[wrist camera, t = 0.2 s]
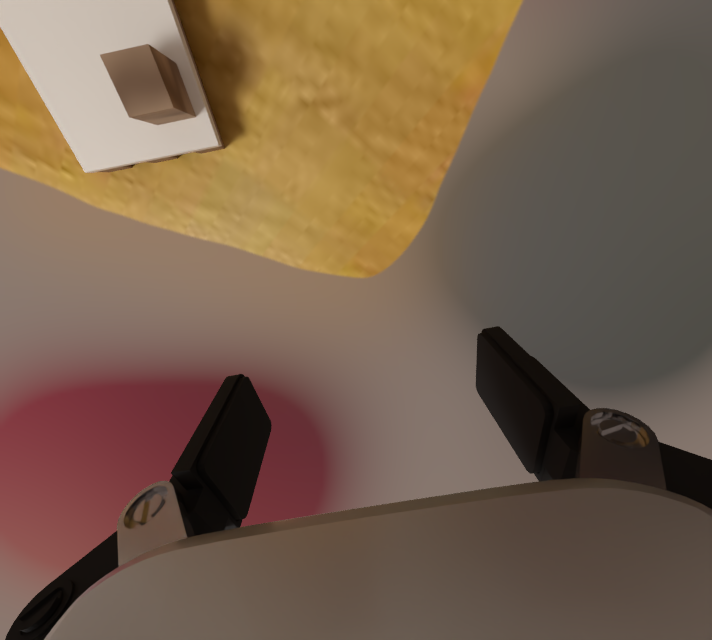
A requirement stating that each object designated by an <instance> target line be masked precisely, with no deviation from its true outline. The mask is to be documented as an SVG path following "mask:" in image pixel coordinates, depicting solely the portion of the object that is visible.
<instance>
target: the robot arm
mask: <svg viewBox="0 0 712 640" xmlns="http://www.w3.org/2000/svg"><path fill="white" fill-rule="evenodd" d="M476 367H477V368H476V388H477V391H478V394H479V395H480V397H481V399H482V400H483V402H484V403H485V405H486V406H487V408H488V410H489V411H490V413H491V414H492V416H493V417H494V419H495V421H496V422H497V424H498V425H499V427H500V428H501V430H502V432H503V433H504V435H505V437H506V438H507V440H508V441H509V443H510V445H511V446H512V448H513V449H514V451H515V452H516V454H517V456H518V457H519V459H520V460H521V462H522V464H523V465H524V467H525V468H526V470H527V471H528V472H529V473H534V474H535V476H536V477H537V479H538V480H539V482H532V483H524V484H517V485H510V486H502V487H494V488H488V489H481V490H474V491H468V492H461V493H454V494H448V495H442V496H435V497H428V498H421V499H414V500H408V501H402V502H395V503H389V504H382V505H376V506H370V507H364V508H357V509H350V510H345V511H338V512H331V513H325V514H319V515H312V516H306V517H300V518H294V519H288V520H281V521H276V522H269V523H263V524H257V525H251V526H245V527H240V526H241V522H242V519H244V518H246V516H247V514H248V511H249V507H250V503H251V500H252V496H253V493H254V489H255V485H256V482H257V478H258V475H259V471H260V467H261V464H262V460H263V457H264V453H265V450H266V446H267V443H268V439H269V436H270V432H271V421H270V419H269V417H268V415H267V413H266V411H265V409H264V407H263V405H262V403H261V401H260V399H259V397H258V395H257V393H256V391H255V389H254V387H253V385H252V383H251V381H250V379H249V378H248V377H245V376H244V375H243V374H239V375H234V376H228V377H226V379H225V380H224V382H223V384H222V385H221V387H220V389H219V391H218V392H217V394H216V396H215V398H214V399H213V401H212V403H211V405H210V406H209V408H208V410H207V411H206V413H205V415H204V417H203V418H202V420H201V422H200V424H199V425H198V427H197V429H196V431H195V432H194V434H193V436H192V437H191V439H190V441H189V443H188V444H187V446H186V448H185V450H184V451H183V453H182V455H181V456H180V458H179V460H178V462H177V463H176V465H175V467H174V469H173V470H172V472H171V474H172V475H173V476H172V477H171V479H170V481H169V482H168V481H160V482H157V483H154V484H152V485H150V486H148V487H147V488H145V489H143V490H142V491H141V492H140V493H138V494H137V495H136V496H135V497H134V498H133V499H132V500H131V501H130V502H129V503H128V504H127V506H126V507H125V509H124V510H123V511H122V513H121V515H120V518H119V520H118V524H117V531H116V532H115V533H114V534H112V535H111V536H110V537H108V538H107V539H106V540H105V541H103V542H102V543H101V544H100V545H98V546H97V547H96V548H94V549H93V550H92V551H91V552H89V553H88V554H87V555H86V556H85V557H83V558H82V559H81V560H79V561H78V562H77V563H75V564H74V565H73V566H72V567H70V568H69V569H68V570H66V571H65V572H64V573H63V574H62V575H60V576H59V577H58V578H57V579H55V580H54V581H53V582H51V583H50V584H49V585H48V586H46V587H45V588H44V589H43V590H42V591H41V592H39V593H38V594H37V595H36V596H35V597H34V598H33V599H32V600H31V601H30V603H28V605H27V606H26V607H25V608H24V609H23V610H22V612H21V613H20V614H19V616H18V617H17V619H16V620H15V621H14V623H13V625H12V626H11V628H10V630H9V632H8V634H7V636H6V639H5V640H712V460H710V459H707V458H704V457H701V456H698V455H695V454H692V453H689V452H687V451H684V450H681V449H678V448H675V447H672V446H669V445H666V444H663V443H660V442H658V439H657V437H656V435H655V433H654V432H653V431H652V430H651V429H650V427H649V426H647V425H646V424H645V423H643V422H642V421H641V420H639V419H637V418H635V417H634V416H632V415H630V414H627V413H624V412H621V411H618V410H614V409H609V408H596V409H592V410H590V409H589V408H588V407H586V406H585V405H584V404H583V403H582V402H581V401H580V400H579V399H578V398H577V397H576V396H575V395H574V394H573V393H572V392H570V391H569V390H568V389H567V388H566V387H565V386H564V385H563V384H562V383H561V382H560V381H559V380H558V379H557V378H556V377H554V376H553V375H552V374H551V373H550V372H549V371H548V370H547V369H546V368H545V367H544V366H543V365H542V364H541V363H540V362H539V361H537V360H536V359H535V358H534V357H532V356H530V355H529V354H528V353H527V352H526V351H525V350H523V348H522V347H520V346H519V345H518V344H517V343H516V342H515V341H514V340H513V339H512V338H511V337H510V336H509V335H508V334H507V333H506V332H505V331H504V330H503V329H501V328H500V327H492V328H486V329H483V330H482V333H480V334H478V338H477V366H476Z"/></svg>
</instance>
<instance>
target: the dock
mask: <svg viewBox="0 0 712 640" xmlns="http://www.w3.org/2000/svg"><path fill="white" fill-rule="evenodd" d="M0 27H1V29H2V30H3V32H4V34H5V36H6V37H7V39H8V41H9V43H10V44H11V46H12V48H13V49H14V51H15V53H16V55H17V56H18V58H19V60H20V61H21V63H22V65H23V67H24V68H25V70H26V72H27V73H28V75H29V77H30V79H31V80H32V82H33V84H34V86H35V87H36V89H37V91H38V92H39V94H40V96H41V98H42V99H43V101H44V103H45V104H46V106H47V108H48V110H49V111H50V113H51V115H52V116H53V118H54V120H55V122H56V123H57V125H58V127H59V129H60V130H61V132H62V134H63V135H64V137H65V139H66V141H67V142H68V144H69V146H70V147H71V149H72V151H73V153H74V154H75V156H76V158H77V159H78V161H79V163H80V165H81V166H82V168H83V170H84V172H85V173H93V172H113V171H117V170H122V169H127V168H132V166H131V165H132V164H137V163H142V162H151V163H157V162H161V161H166V160H171V159H176V158H178V157H177V155H181V154H186V153H191V152H196V153H206V152H210V151H215V150H220V149H225V148H224V145H223V142H222V139H221V136H220V133H219V130H218V127H217V125H216V122H215V119H214V116H213V113H212V110H211V107H210V104H209V101H208V99H207V96H206V93H205V90H204V87H203V84H202V81H201V78H200V75H199V73H198V70H197V67H196V64H195V61H194V58H193V55H192V52H191V49H190V47H189V44H188V41H187V38H186V35H185V32H184V29H183V26H182V23H181V21H180V18H179V15H178V12H177V9H176V6H175V3H174V0H0ZM145 44H149V45H151V46H152V47H153V48H155V49H156V50H158V51H159V52H161V53H162V54H164V55H165V56H167V57H168V58H169V59H171V60H172V61H174V62H175V63H176V64H177V66H178V69H179V72H180V74H181V77H182V80H183V82H184V85H185V88H186V90H187V93H188V96H189V99H190V101H191V104H192V107H193V109H194V112H195V115H196V117H195V118H190V119H185V120H180V121H175V122H171V123H166V124H161V125H155V124H151V123H148V122H144V121H141V120H137V119H133V118H130V117H129V116H128V114H127V112H126V110H125V108H124V106H123V103H122V101H121V99H120V97H119V95H118V93H117V91H116V89H115V86H114V84H113V82H112V80H111V78H110V76H109V74H108V72H107V69H106V67H105V65H104V63H103V61H102V59H101V57H100V55H101V54H105V53H110V52H114V51H119V50H123V49H127V48H132V47H136V46H141V45H145Z"/></svg>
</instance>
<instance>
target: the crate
mask: <svg viewBox="0 0 712 640" xmlns="http://www.w3.org/2000/svg"><path fill="white" fill-rule="evenodd" d="M100 57H101V59H102V61H103V63H104V65H105V67H106V69H107V72H108V74H109V76H110V78H111V80H112V82H113V84H114V86H115V89H116V91H117V93H118V95H119V97H120V99H121V101H122V103H123V106H124V108H125V110H126V112H127V114H128V116H129V117H130V118H133V119H137V120H141V121H144V122H148V123H151V124H155V125H161V124H166V123H171V122H175V121H180V120H185V119H190V118H195V117H196V115H195V112H194V109H193V107H192V104H191V101H190V99H189V96H188V93H187V90H186V88H185V85H184V82H183V80H182V77H181V74H180V72H179V69H178V66H177V64H176V63H175V62H174V61H172V60H171V59H169V58H168V57H167V56H165V55H164V54H162V53H161V52H159V51H158V50H156V49H155V48H153V47H152V46H151V45H149V44H145V45H141V46H136V47H132V48H127V49H123V50H119V51H114V52H110V53H105V54H101V55H100Z"/></svg>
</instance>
